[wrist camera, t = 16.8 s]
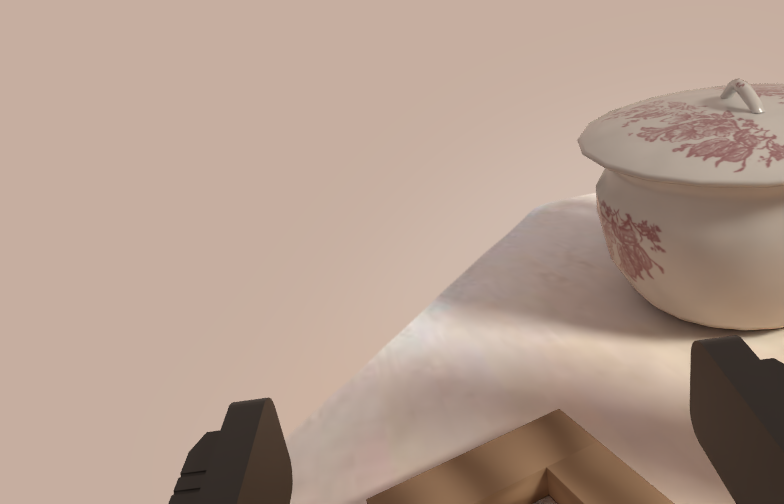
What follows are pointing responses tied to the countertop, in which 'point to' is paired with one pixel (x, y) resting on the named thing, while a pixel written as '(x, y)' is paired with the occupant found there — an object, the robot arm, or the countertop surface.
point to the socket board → (530, 471)
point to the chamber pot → (697, 201)
